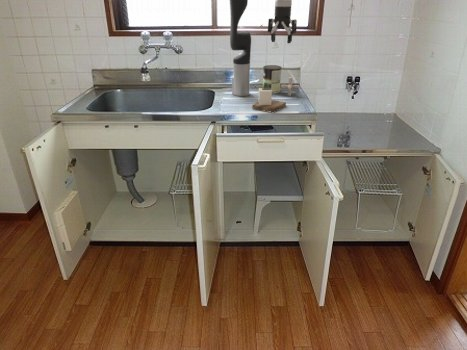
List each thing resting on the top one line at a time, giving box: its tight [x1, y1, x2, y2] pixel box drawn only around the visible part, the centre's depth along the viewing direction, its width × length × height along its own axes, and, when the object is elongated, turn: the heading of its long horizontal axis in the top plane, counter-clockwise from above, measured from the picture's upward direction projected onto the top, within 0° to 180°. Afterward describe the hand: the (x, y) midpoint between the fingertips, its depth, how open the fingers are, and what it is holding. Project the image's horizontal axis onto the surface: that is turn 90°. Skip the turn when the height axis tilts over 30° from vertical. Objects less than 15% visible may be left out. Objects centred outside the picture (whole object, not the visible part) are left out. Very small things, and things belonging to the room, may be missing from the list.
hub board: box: [251, 99, 287, 113], centre depth 175 cm, size 12×13×2 cm
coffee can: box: [262, 64, 282, 95], centre depth 200 cm, size 10×10×14 cm
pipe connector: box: [280, 76, 300, 97], centre depth 193 cm, size 10×10×10 cm
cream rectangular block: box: [258, 87, 273, 105], centre depth 173 cm, size 6×6×8 cm
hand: (281, 42), depth 167 cm, fingers open, 8 cm apart
